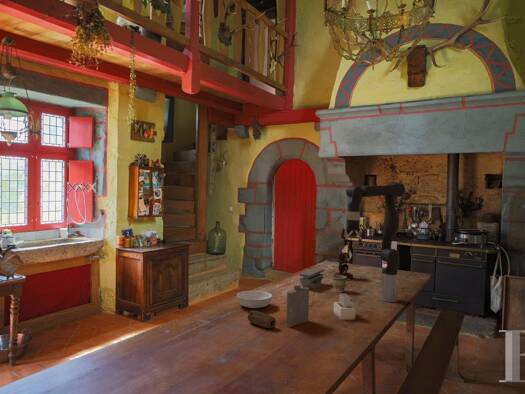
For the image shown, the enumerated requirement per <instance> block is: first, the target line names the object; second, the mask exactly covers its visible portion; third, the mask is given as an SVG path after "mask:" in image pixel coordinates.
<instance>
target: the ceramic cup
mask: <svg viewBox="0 0 525 394" xmlns="http://www.w3.org/2000/svg"><path fill="white" fill-rule="evenodd" d="M346 278H347V277H346V276H341V275H334V274H333V275H331V281H332V289H333V292H335V293H339V294H342V293H344V292H345V288H346V286H348V285H349V284H351V282H352V279H351V278H347V279H346ZM347 281H349V282H348V283H347ZM346 283H347V284H346Z"/></svg>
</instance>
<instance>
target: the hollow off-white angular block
mask: <svg viewBox="0 0 525 394" xmlns="http://www.w3.org/2000/svg"><path fill="white" fill-rule="evenodd" d="M332 312H333V314H334V315H335V316H336V317H337V318H338V319H339V320H340V321H343V320H356V312H357V311H356V307H354V306H353V305H352V304H351V303H350V308H342V307H340V306H339V301H333V311H332Z"/></svg>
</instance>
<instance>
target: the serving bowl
mask: <svg viewBox="0 0 525 394" xmlns="http://www.w3.org/2000/svg"><path fill="white" fill-rule="evenodd" d="M236 299H237V302H238V303H239V304H240V306H243V307H245V308H249V309H261V308H264V307H267V306H268V305H269V304H270V303H271V301H272V299H273V294H272V293H270V292H267V291H262V290H243V291H239V292H238V293H237V294H236Z"/></svg>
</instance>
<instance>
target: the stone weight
mask: <svg viewBox="0 0 525 394" xmlns="http://www.w3.org/2000/svg"><path fill="white" fill-rule="evenodd" d="M247 321H249V322H250V323H251V324H253V325H257V327H261V328H266V329H273V328H274V327H275V326H276V323H277V319H276V318H275V317H274V316H272V315H269V314H267V313H264V312H262V311H258V310H254V309H253V310H250V311H249V312H248V314H247Z"/></svg>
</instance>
